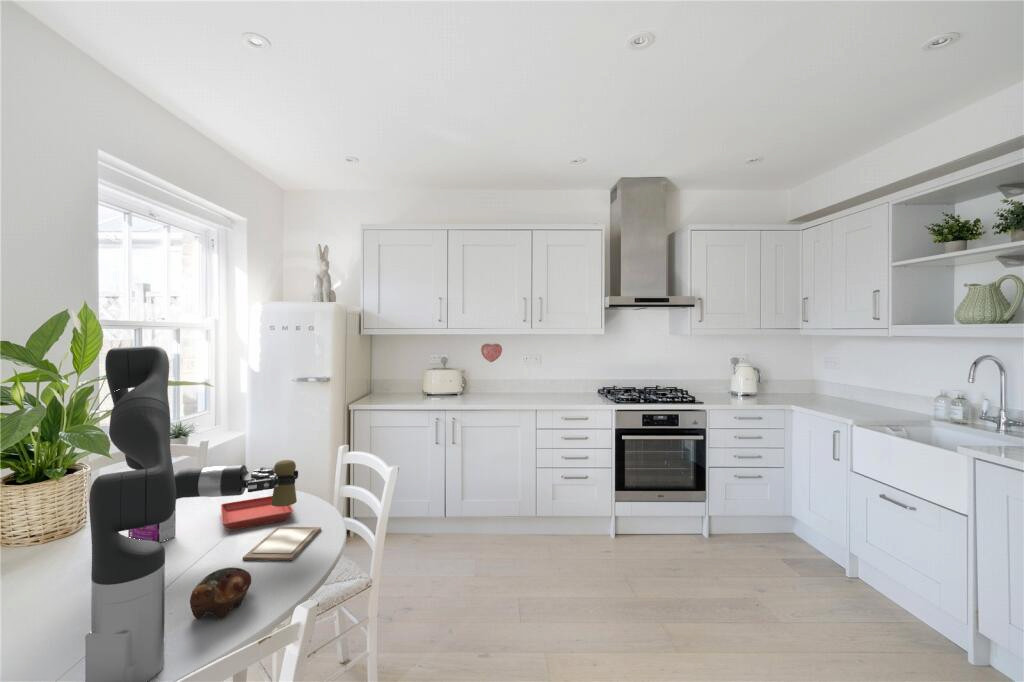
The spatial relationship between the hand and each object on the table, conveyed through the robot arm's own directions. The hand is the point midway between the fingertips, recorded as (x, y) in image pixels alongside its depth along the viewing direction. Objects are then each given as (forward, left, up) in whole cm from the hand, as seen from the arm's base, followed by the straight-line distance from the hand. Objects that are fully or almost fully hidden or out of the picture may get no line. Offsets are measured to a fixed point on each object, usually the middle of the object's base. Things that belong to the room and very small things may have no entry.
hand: (296, 476), depth 123 cm
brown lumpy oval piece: (-30, +2, -18) cm, 35 cm away
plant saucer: (+17, +20, -18) cm, 32 cm away
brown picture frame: (-1, +3, -18) cm, 18 cm away
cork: (-1, +3, -7) cm, 7 cm away
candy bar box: (+2, +40, -18) cm, 43 cm away
